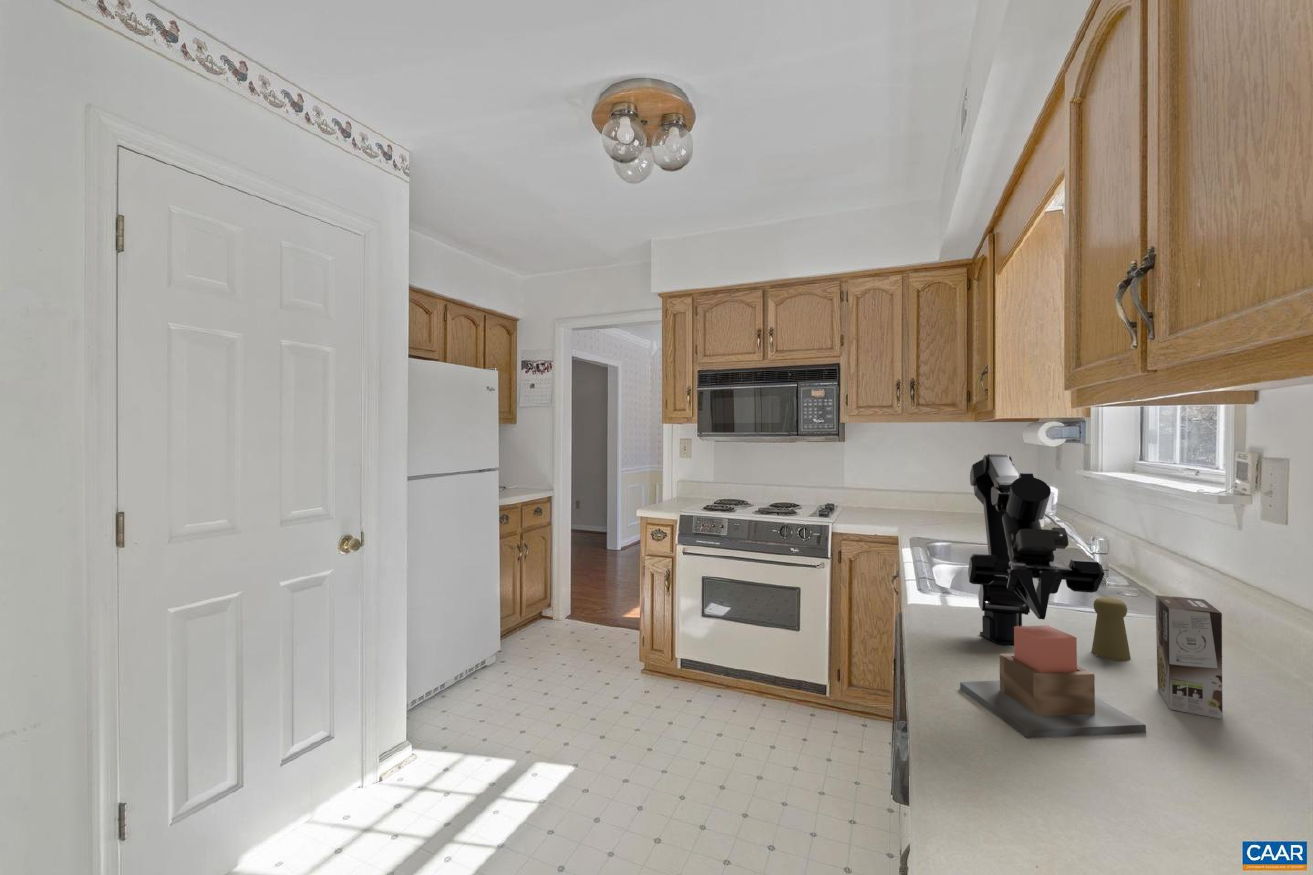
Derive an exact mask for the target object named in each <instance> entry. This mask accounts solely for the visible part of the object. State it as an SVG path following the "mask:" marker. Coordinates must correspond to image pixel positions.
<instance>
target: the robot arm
mask: <svg viewBox="0 0 1313 875" xmlns="http://www.w3.org/2000/svg"><path fill="white" fill-rule="evenodd" d="M969 481H970V484H969V485H970V486H971V487H973V491H974V492H973V494H974V496H975V498H977V500H978V501H979V502H980V503H981V504H982V505H983V506H982V507H983V515H984V522H985V525H984V526H985V534H986V542H987V543H986V544H987V551H988V552H987V554H979V553H973V554H972V555H971V556H969V564H968V569H967V571H968V572H967V576H968V581H969V583H970V584H972V585H979V590H978V595H977V596H978V597H977V598H978V607H979V608H980V610H981V611H982V612H983V615H982V621H981V622H982V623H981V625H982V631H979V635H981V636H982V637H984V638H986V639H988V640H990V641H991V642H994V643H995V644H997V645H1014V626H1023V615H1027V616H1029V614H1030V613H1031V612H1032V613H1033V614H1034V615H1035V617H1036V618H1037V619H1038V620H1045V619H1046V615H1047V610H1048V606H1049V605H1048V604H1049V601H1050V600H1049V599H1050V595H1051V594H1052V595H1053V594H1054V595H1055V594H1058V591H1059V589H1060V586H1061V583H1062V580H1065V584H1066V588H1068V589H1069V590H1070V591H1073V592H1077V593H1096V592H1098V590H1099V588H1100V585H1101V584H1102V581H1103V578H1104V577H1105V571H1104V568H1103V565H1102V564H1101V563H1100V562H1099V561H1097V560H1092V559H1091V560H1089V559H1088V560H1087V559H1074V558H1073V559H1072V558H1071V559H1070V561H1069V564H1068V566H1054V565H1051V563H1052V562H1053V563H1054V560H1055V555H1054V552H1055V551H1056V550H1057V549H1058V550H1065V549H1066V548H1067V547H1068V546H1069V538H1068V533H1067V530H1066V528H1065V527H1052V528H1051V529H1042V526H1041V522H1040V520H1044V517H1045V514H1046V510H1047V507H1048V504H1049V501H1050V497H1051V493H1052V491H1051V486H1049V485H1048V484H1047V483H1046V482H1045V481H1043V480H1042V479H1040V478H1037V477H1034V474H1033V473H1032V472H1020V473H1019V472H1018V471H1017V469H1016V467H1015V464H1014V463H1013V458H1012V456H1011V454H1007V453H987V454H984V455H983V458H982V459H981V460H979V461H977V462H975V463H973V464H972V465H971V468H970V473H969ZM1034 579H1036V580H1037V586H1036V587H1035V584H1034Z"/></svg>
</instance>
